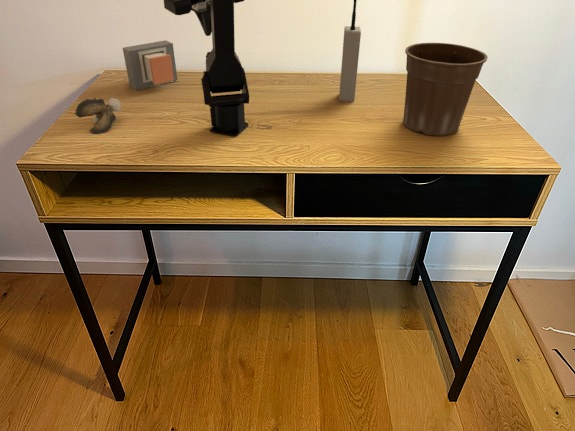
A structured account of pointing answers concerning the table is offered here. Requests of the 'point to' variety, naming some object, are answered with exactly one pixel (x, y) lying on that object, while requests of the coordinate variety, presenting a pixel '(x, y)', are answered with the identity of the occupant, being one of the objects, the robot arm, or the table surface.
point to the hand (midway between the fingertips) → (207, 35)
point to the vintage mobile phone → (350, 60)
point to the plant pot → (439, 85)
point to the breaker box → (136, 62)
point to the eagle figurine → (99, 113)
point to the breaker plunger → (158, 67)
